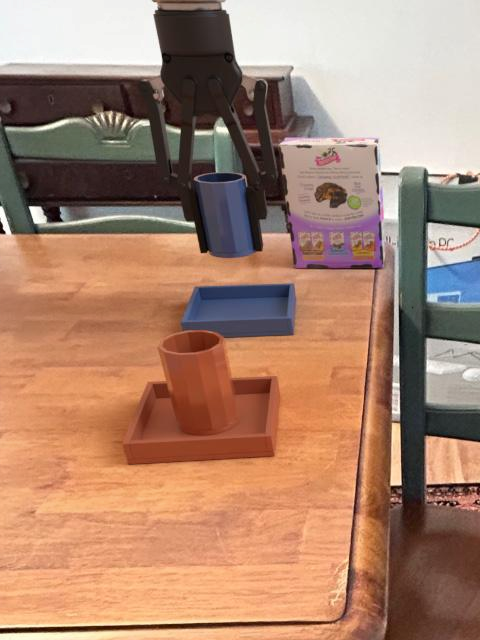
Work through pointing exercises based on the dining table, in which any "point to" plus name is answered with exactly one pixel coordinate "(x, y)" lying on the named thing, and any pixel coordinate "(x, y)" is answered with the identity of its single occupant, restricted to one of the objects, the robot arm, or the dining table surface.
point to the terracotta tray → (176, 445)
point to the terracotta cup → (199, 381)
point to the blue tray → (242, 310)
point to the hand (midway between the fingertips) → (232, 248)
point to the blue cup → (225, 214)
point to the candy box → (334, 201)
